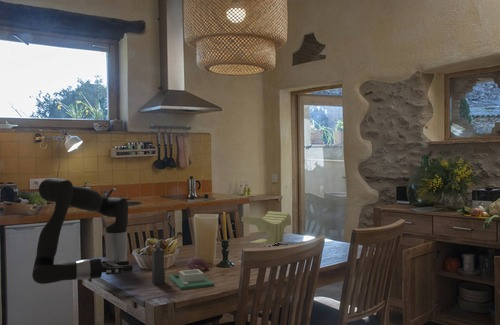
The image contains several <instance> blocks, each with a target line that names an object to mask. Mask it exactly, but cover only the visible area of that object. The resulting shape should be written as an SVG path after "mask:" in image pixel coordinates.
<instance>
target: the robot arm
mask: <svg viewBox="0 0 500 325" xmlns="http://www.w3.org/2000/svg"><path fill="white" fill-rule="evenodd" d="M38 193H39V195H40V197H41V198H42V200H44V201H46V202H51V203H55V206H54V209H53V213H52V214H51V217H50V218H49V220H48V221H47V222H46V223H45V225H44V227H43V228H42V229H41V232H40V234H39V237H38V242H37V246H36V255H35V259H34V264H33V268H32V273H31V274H32V275H31V276H32V279H33V281H34V282H35V283H37V284H39V285H44V284H46V285H47V284H52V283H57V282H63V281H73V280H76V281H77V280H81V281H82V280H83V281H84V280H91V279H101V278H102V275H103V273H105V275H107V276H108V275H119V274H120V275H121V274H123V272H131V271H133V267H134V266H133V265H132V264H130V262H129V260H127V258H128V257H127V255H128V254H127V252H128V251H127V247H128V246H127V241H128V240H127V227H128V223H129V222H128V221H129V220H128V219H129V203H128V200H127V199H126V198H124V197H114V196H113V197H110V196H109V197H106V196H102V195H101V194H100V192H98V191H97V190H94V189H93V188H92V189H91V188H87V187H82V186H75V185H73V183H72V182H71V181H70V180H69V179H65V178H57V177H49V178H45V179H44V180H42V181H41V182H40V184H39V186H38ZM70 206H71V207H74V208H76V209H79V210H83V211H87V212H95V213H98V214H100V215H103V216H104V217H109V218H115V221H114V222H113V223H111V224H108V225H107V226H105V227H106V228H105V256H106V257H105V260H103V261H102V258H87V259H80V260H73V261H72V260H71V261H64V262H62V263H55V264H54V262H55V256H56V254H57V252H58V251H57V250H58V246H59V241H60V235H61V234H60V233H61V231H62V227H63V226H64V225H63V224H64V221H65V219H66V216H67V213H68V211H69V208H70Z"/></svg>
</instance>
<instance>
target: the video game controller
mask: <svg viewBox="0 0 500 325" xmlns="http://www.w3.org/2000/svg"><path fill="white" fill-rule="evenodd" d="M186 267H187V268H188V270H194V269H199V270H200V271H202V268H203V269H204V270H207V271H208V270H209V268H210V267H209V264H208V263H207V262H206V261H205V260H204V258H202V257H195V258H191V259H190V260H188V261H187V262H186Z"/></svg>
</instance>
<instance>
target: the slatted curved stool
mask: <svg viewBox="0 0 500 325" xmlns="http://www.w3.org/2000/svg"><path fill="white" fill-rule="evenodd" d="M241 222H243V223H246V224H249V225H252V226H255V227H256V228H257V230H258V232H261V233H265V234H266V235H267V239H266V238H260V239H259V238H258V239H255V240H252V241H250V242H249V244H250V243H264V244H275V243H278V242H282V241H284V233H285V229H286V228H287V227H288V226H292V216H291V215H290V213H288V212H283V211H274V210H273V211H270V210H268V211H267V213H266V214H265V215H264V216H263V217H262V218H261V217H252V216H250V217H249V216H241ZM282 243H283V242H282Z"/></svg>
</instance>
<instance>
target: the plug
mask: <svg viewBox="0 0 500 325" xmlns="http://www.w3.org/2000/svg"><path fill="white" fill-rule="evenodd" d="M164 251H165V249H163V248H161V242H160V241H156V242H155V248H152V249H151V276H152V279H151V283H152V284H153V285H154V286H158V285H164V284H165V283H166V268H165V252H164Z"/></svg>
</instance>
